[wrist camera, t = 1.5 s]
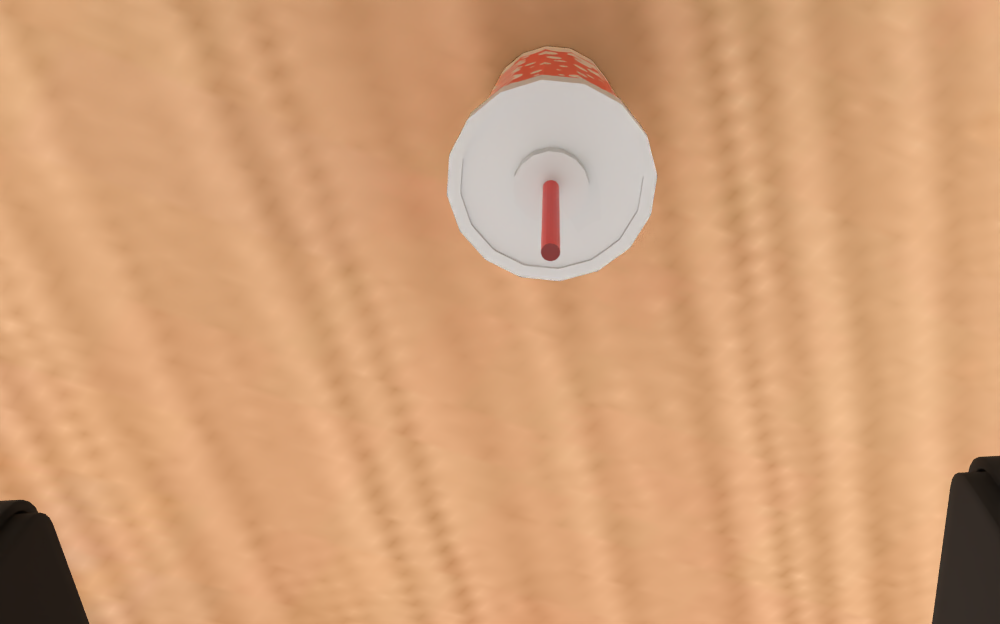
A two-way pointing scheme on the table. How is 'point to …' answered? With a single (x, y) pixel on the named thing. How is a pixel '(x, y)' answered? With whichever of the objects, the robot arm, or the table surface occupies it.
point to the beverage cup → (551, 169)
